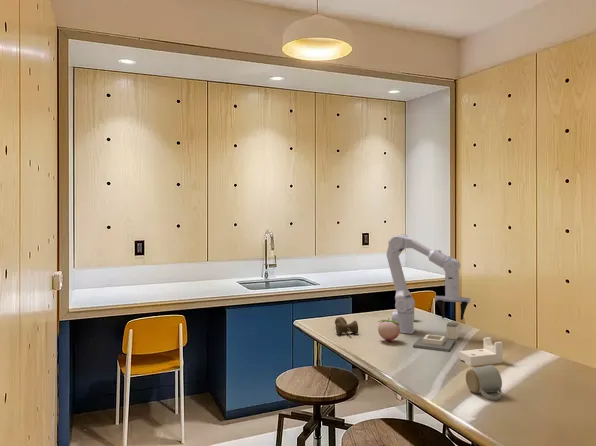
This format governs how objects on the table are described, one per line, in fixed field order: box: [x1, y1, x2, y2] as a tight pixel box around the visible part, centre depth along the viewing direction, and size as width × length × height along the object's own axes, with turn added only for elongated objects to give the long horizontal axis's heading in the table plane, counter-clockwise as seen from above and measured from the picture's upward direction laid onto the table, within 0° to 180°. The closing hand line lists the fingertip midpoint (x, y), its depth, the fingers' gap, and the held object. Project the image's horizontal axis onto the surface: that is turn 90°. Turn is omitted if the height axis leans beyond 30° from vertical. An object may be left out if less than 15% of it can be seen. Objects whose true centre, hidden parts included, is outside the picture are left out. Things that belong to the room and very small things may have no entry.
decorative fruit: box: [377, 317, 401, 342], centre depth 195 cm, size 9×8×10 cm
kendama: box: [334, 316, 359, 336], centre depth 212 cm, size 6×10×20 cm
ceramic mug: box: [465, 364, 503, 401], centre depth 138 cm, size 11×8×8 cm
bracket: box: [458, 337, 503, 367], centre depth 168 cm, size 13×7×8 cm, turn 104°
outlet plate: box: [412, 334, 456, 353], centre depth 189 cm, size 14×14×3 cm
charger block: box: [446, 322, 459, 340], centre depth 199 cm, size 4×4×6 cm
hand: (452, 318), depth 199 cm, fingers open, 7 cm apart
